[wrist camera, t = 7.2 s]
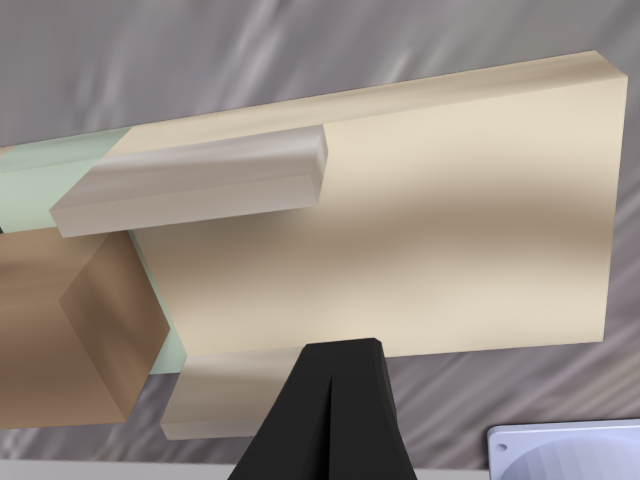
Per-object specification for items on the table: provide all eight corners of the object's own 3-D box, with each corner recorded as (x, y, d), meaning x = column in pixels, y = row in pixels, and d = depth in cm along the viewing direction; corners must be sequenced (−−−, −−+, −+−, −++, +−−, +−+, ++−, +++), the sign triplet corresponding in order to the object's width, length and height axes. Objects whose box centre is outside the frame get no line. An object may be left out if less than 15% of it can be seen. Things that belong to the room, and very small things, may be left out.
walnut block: (170, 328, 19) (126, 422, 16) (55, 338, 20) (-10, 430, 17) (121, 218, 17) (57, 301, 14) (-7, 234, 18) (-97, 316, 14)
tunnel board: (579, 292, 20) (638, 416, 15) (-17, 346, 24) (-110, 454, 20) (594, 50, 15) (685, 122, 11) (-139, 170, 20) (-294, 257, 15)
